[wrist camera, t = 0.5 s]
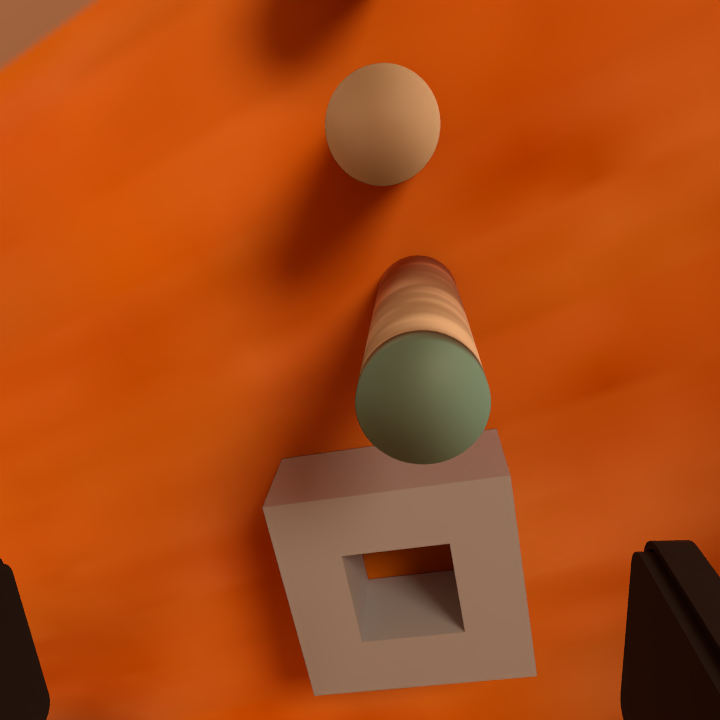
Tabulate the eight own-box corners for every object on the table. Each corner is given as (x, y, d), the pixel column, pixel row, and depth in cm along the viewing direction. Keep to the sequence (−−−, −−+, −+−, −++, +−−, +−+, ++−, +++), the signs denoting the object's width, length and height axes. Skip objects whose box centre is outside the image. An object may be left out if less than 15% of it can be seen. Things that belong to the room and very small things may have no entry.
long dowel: (450, 248, 31) (481, 329, 18) (462, 326, 32) (498, 454, 19) (371, 263, 31) (343, 352, 18) (385, 338, 33) (368, 472, 20)
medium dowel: (425, 74, 28) (430, 50, 21) (438, 165, 30) (448, 174, 22) (338, 93, 29) (313, 76, 21) (355, 181, 30) (337, 195, 23)
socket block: (496, 428, 34) (510, 475, 29) (520, 609, 38) (536, 676, 33) (281, 458, 35) (262, 507, 31) (325, 628, 39) (314, 695, 34)
